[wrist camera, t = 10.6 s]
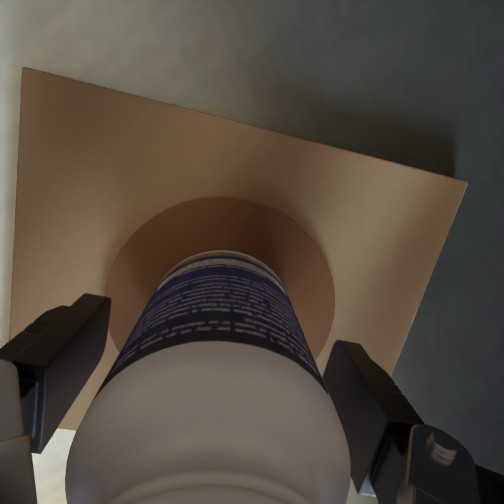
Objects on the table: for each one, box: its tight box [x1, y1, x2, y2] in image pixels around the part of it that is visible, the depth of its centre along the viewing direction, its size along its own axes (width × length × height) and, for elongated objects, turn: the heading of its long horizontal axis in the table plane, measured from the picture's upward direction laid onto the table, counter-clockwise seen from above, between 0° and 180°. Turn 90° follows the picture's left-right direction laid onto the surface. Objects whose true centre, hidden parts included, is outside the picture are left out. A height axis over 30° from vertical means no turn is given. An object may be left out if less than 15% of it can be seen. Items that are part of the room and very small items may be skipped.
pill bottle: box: [65, 250, 351, 504], centre depth 8 cm, size 5×5×10 cm
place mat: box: [9, 67, 468, 431], centre depth 13 cm, size 16×14×1 cm
